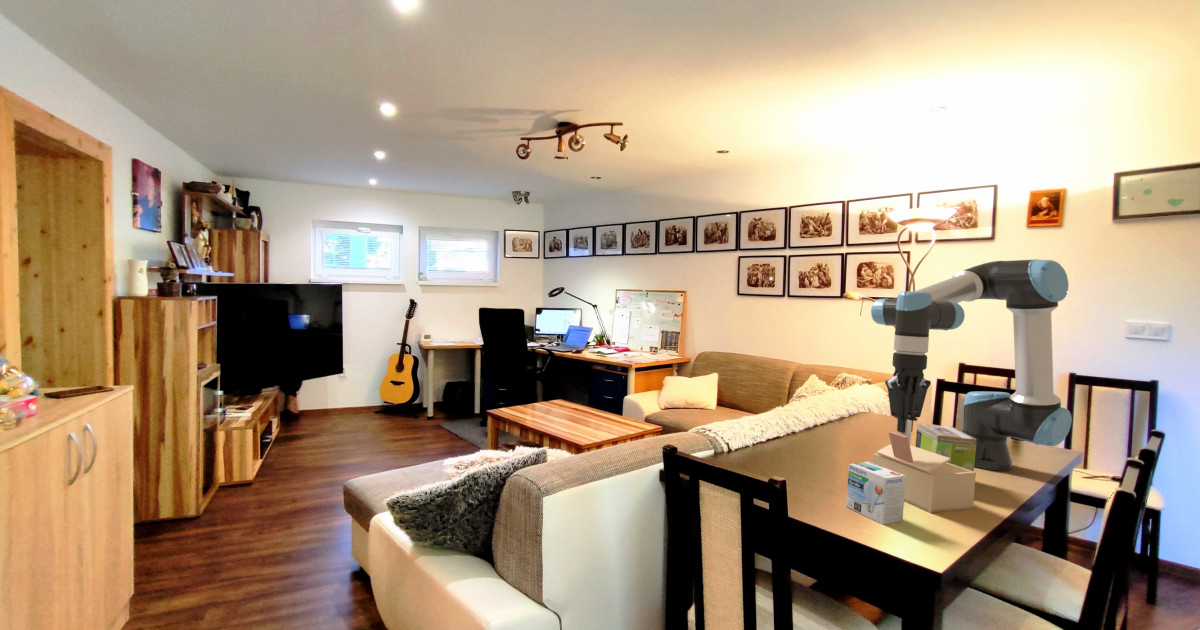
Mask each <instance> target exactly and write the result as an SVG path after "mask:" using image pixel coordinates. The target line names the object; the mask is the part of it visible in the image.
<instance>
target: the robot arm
mask: <svg viewBox="0 0 1200 630" xmlns="http://www.w3.org/2000/svg"><path fill="white" fill-rule="evenodd" d="M1068 291H1069V279H1068V274H1067V271H1066V270H1065V269H1064V267H1063V266H1062V265H1061V264H1060V263H1059V262H1058V261H1055V260H1051V259H1038V258H1036V259H1019V260H996V261H989V262H984V263H981V264H978V265H975V266H972V267H969V268H966V269H963V270H961V271H958V272H956V273H955V274H953V276H952V277H951V278H947V279H945V280H943V281H939V282H937V283H933V284H932V285H929V286H925V287H923V288H920V289H918V290H913V291H901V292H898V294H897V296H896V297H895V298H888V297H885V298H879V299H877V300H875V301H873V303H872V306H871V309H870V313H871V314H870V315H871V318H872V320H873V322H874V323H876V324H877V325H883V326H886V327H887V326H889V327H891V326H892V327H895V328H894V341H893V350H894V351H896V352H894V353H892V362H891V363H892V367H894V372H893V375H892V376H893V377H891V378H890V379H885V380H884V384H885V386H886V387H887V393H888V399H889V400H888V401H889V409H890V416H891V417H894V418H895V419H897V427H896V431H897V433H899V434H902V435H905V436H908V440H909V445H911V442H912V437H911V436H912V433H913V430H914V429H913V427H914V421H915V422H917V421H918V418H920V417H921V416H922V412H923V408H924V403H925V401H926V396H927V393H928V389H929V388H930V386H931V384H932V381H931V380H928V379H926V378H925V377H924V376H925V374H924V371H925V370H926V369H927V367H928V366H927V365H928V355H927V354H926V353H928V352H929V342H930V341H929V338H930V336H929V335H930V330H936V331H938V330H939V331H940V330H941V331H949V330H955V329H958V328H959V327H960V326H962V324H963V322H964V320H965V309H964V308H963V307H962V305H960V304H959V303H961V302H967V303H969V302H974V301H976V300H1000V301H1005V304H1006V305H1005V306H1006V307H1005V308H1006V309H1007V310H1009V311H1010V312H1012V318H1013V322H1012V323H1013V343H1014V344H1013V345H1014V347H1013V348H1014V349H1013V350H1014V351H1013V352H1014V374H1015V375H1014V377H1015V391H1014V393H1012V394H1011V393H1009V392H1005V391H1004V392H1003V391H984V390H983V391H976V390H975V391H969V392H967V393H966V395H965V397H964V403H963V415H962V416H963V417H962V418H963V419H962V432H964V433H965V434H967V435H969V436H971V437H973V438H975V439H976V451H975V462H974V468H979V469H984V470H989V471H1005V472H1006V471H1011V470H1012V469H1013V468H1012V467H1013V460H1012V457H1011V453H1010V450H1009V448H1008V443H1007V442H1008V441H1007V440H1008V438H1013V439H1017V440H1020V441H1024V442H1029V443H1032V444H1035V445H1041V446H1045V447H1055V446H1058V445H1060V444H1061V443H1062V442H1063V441H1065V439H1066V437H1067V436H1068V434H1069V432H1070V429H1071V427H1072V421H1073V418H1072V413H1071V412H1070V410H1069V409H1067V408H1065V407H1062V404H1061V398H1060V397H1058V396H1057V395H1056V394H1055V393H1054V363H1053V361H1054V360H1053V330H1052V329H1053V328H1052V327H1053V326H1052V325H1053V324H1052V313H1053V311H1055V310H1056V309H1057V308H1058V307H1059V302H1062V301H1064V299H1065V298H1066V297H1067V295H1068V293H1067V292H1068Z"/></svg>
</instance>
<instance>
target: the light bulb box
mask: <svg viewBox="0 0 1200 630" xmlns="http://www.w3.org/2000/svg"><path fill="white" fill-rule="evenodd" d="M847 474H848V475H847V485H846V486H847V487H846V488H847V490H846V499H845V501H846V502H845V507H846V508H848V509H850V510H852V511H854V512H856V513H858V514H861V515H863V516H865V517H866V518H869V519H871V520H872V521H874V520H875V521H874V522H877V523H879V524H881V525H887V524H893V523H897V522H899V523H900V522H903V521H904V508H905V507H904V506H905V501H904V495H905V483H906V475H903V474H900V473H897V472H895V471H892V470H889V469H886V468H884V467H881V466H878V465H875V464H873V462H870V461H862V462H855V463H849V464H848V473H847Z"/></svg>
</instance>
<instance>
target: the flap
mask: <svg viewBox="0 0 1200 630" xmlns="http://www.w3.org/2000/svg"><path fill="white" fill-rule="evenodd" d="M888 436H889V440H890V443H889V444H888V445H886V446H885V447H882V448H880V449H879V450H877V451H876V453H877V454H880V455H883V456H885V457H888V458H891V459H893V460H896V461H899V462H901V463H904V464H907V465H909V466H912V467H915V468H917V469H920V470H923V471H925V472H928V473H929V472H930V471H932V470H934V469H936V468H938V467H939V466H941V465H943V464H945V463H946V462H948V461H950V458H948V457H945V456H942V455H939V454H936V453H933V452H930V451H927V450H924V449H921V448H918V447H915V446H916V445H911V444H910V445H909V440H908V436H905V435H902V434H899V433H898V432H894V431H892V430H890V431H888Z"/></svg>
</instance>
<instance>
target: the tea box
mask: <svg viewBox="0 0 1200 630" xmlns="http://www.w3.org/2000/svg"><path fill="white" fill-rule="evenodd" d="M916 425H917V426H916V433H915V435H916V436H915V445H914V446H915V447H918V448H921V449H924V450H927V451H930V452H933V453H936V454H939V455H942V456H945V457H948V458H950V461H948V462H947V463H950V464H953V465H956V466H959V467H962V468H965V469H967V470H970V471H973V472H975V467H974V462H975V451H976V439H975V438H973V437H971V436H969V435H967V434H965V433H964V432H962V431H961V430H960V429H957V428H955V427H954V426H949V425H946V426H945V425H937V424H927V423H917V424H916Z"/></svg>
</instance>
